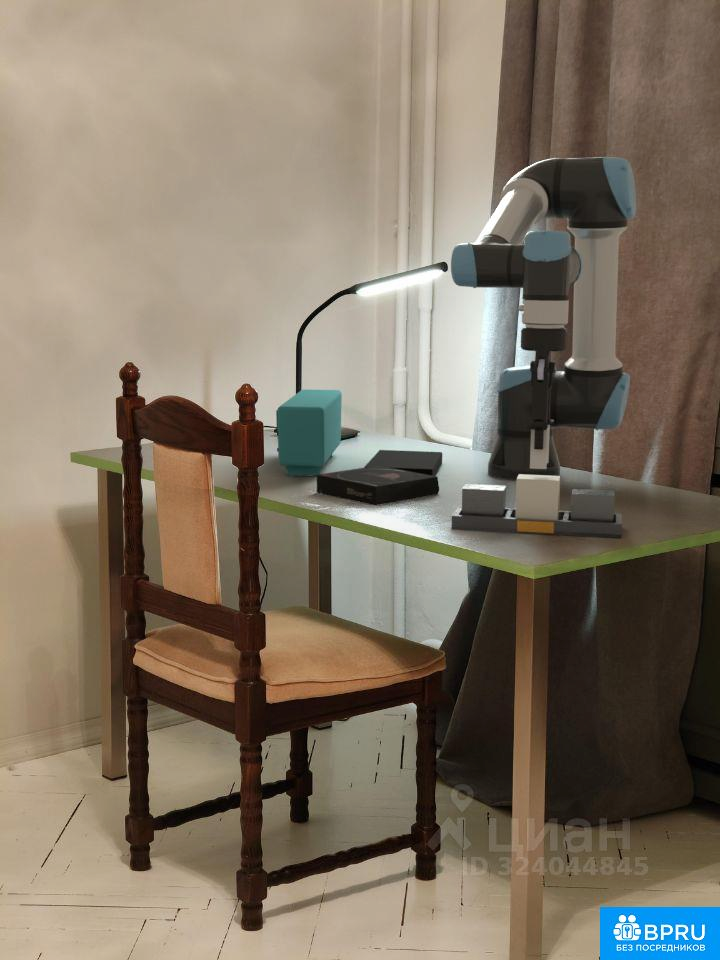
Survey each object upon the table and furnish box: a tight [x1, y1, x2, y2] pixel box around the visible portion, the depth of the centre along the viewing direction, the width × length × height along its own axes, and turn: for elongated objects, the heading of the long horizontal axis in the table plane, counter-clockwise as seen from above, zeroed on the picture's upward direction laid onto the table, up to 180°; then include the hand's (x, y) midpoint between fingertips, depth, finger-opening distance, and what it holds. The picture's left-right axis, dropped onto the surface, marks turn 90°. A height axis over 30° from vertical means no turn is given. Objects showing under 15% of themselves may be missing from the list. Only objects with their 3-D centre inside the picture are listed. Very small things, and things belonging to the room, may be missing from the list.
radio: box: [275, 389, 343, 476], centre depth 267 cm, size 34×10×15 cm, turn 175°
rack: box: [451, 483, 623, 539], centre depth 207 cm, size 9×28×7 cm, turn 78°
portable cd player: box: [316, 466, 440, 506], centre depth 237 cm, size 16×17×4 cm
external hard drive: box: [363, 449, 443, 476], centre depth 262 cm, size 14×23×3 cm, turn 171°
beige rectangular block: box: [515, 474, 561, 520], centre depth 207 cm, size 4×7×8 cm, turn 78°
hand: (539, 465), depth 206 cm, fingers open, 5 cm apart
